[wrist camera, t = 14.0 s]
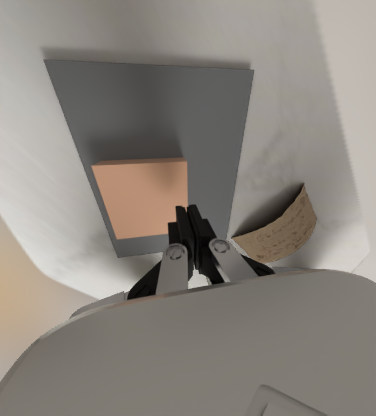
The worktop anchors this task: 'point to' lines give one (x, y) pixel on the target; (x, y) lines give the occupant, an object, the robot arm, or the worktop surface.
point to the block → (142, 194)
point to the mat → (158, 128)
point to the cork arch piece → (281, 232)
